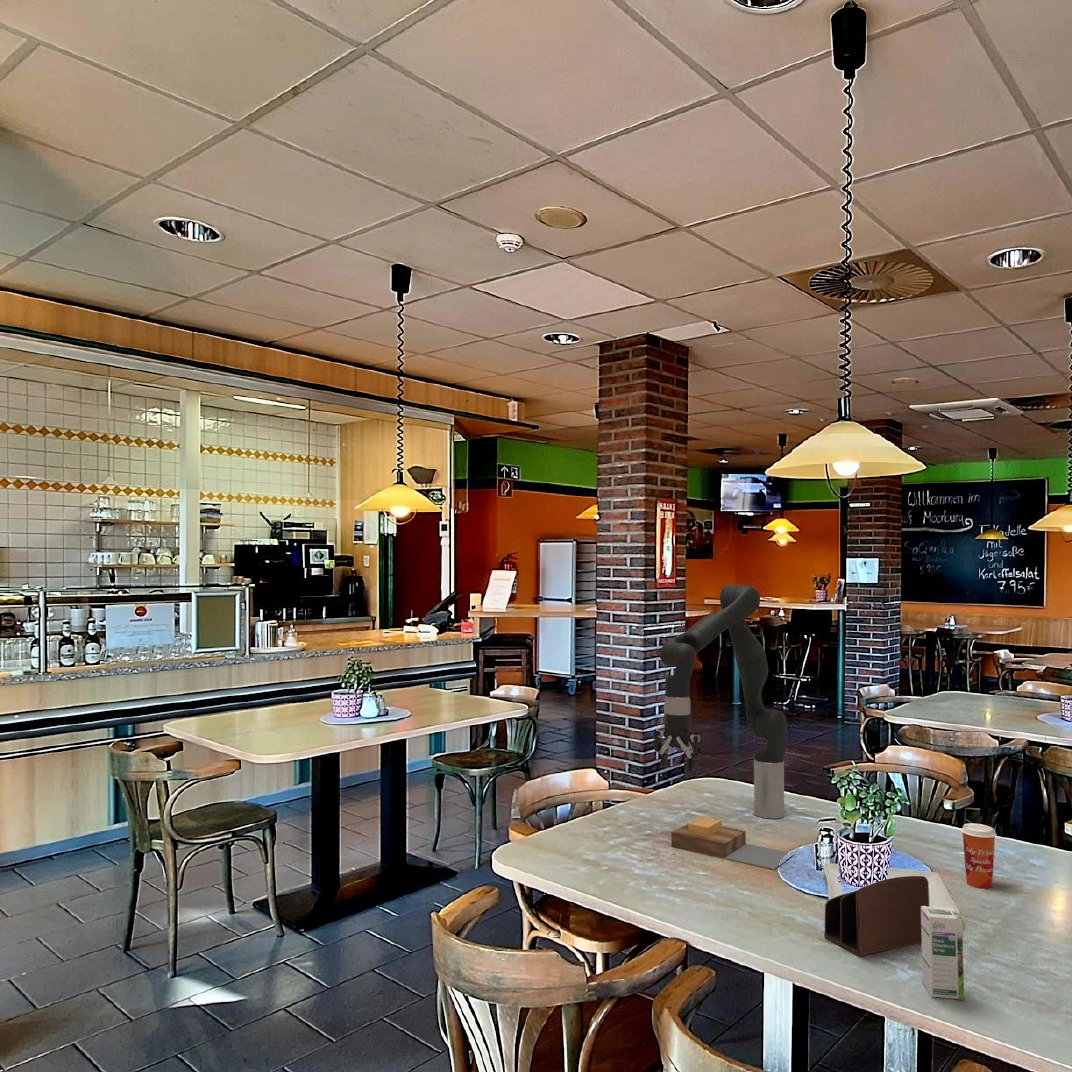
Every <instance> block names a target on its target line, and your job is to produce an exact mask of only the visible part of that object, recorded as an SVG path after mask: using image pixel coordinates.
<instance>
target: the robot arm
mask: <svg viewBox="0 0 1072 1072" xmlns="http://www.w3.org/2000/svg"><path fill="white" fill-rule="evenodd" d="M719 604H720V608H721V610H719V611H716V612H714V613H712V614H709V615H707V616H705V617H703V618H701V619H699V620H698V621H696V622H695V623H694V624H693V625H692V626H691V627H689V628H688V629H687V630H686V631H685V632H683V633H680V634H678V635H676V636H673V637H672V638H670V639H669V640H667V641H665V643H663V645H662V647H661V648H660V649H659V650H660V651H659V659H660V661H661V663H662V664H663V665H665V666H668V667H675V669H674V673H673V674H671V675H670V674H669V675H668V676H666V677H665V681H664V686H665V687H664V703H663V704H664V705H663V713H664V714H663V718H664V719H663V720H664V721H663V726H664V730H661V729H658V730H655V731H653V733H654V736H653V738H654V741H653V745H654V746H653V747H654V752H657V753H659V754H660V765H661V767H662V768H664V769H665V768H668V766H669V760H668V759H669V754H668V752H669V750H670V749H671V748H676V749H677V748H678V749H682V751H683V752H684V753H685V755H686V757H687V759H686V767H687V768H686V771H687V772H692V771H693V770H695V758H698V757H700V756H702V736H701V734H697V735H696V734H692V733H691V725H692V723H691V717H692V716H691V714H692V713H691V709H692V708H691V707H692V705H691V699H690V696H691V695H690V693H691V692H690V691H691V689H690V688H691V687H690V682H691V678H692V676H693V675H692V674H693V671H694V667H695V664H696V663H695V662H696V652H697V653H698V652H701V651H703V649H704V648H705V647H707V646H708V645H709V644H710V643H711V642H713V640H715V639H716V638H717V637H718V636H720V635H722V633H723V632H725V631H727V630H728V632H729V635H730V639H731V643H732V648H733V652H734V656H735V661H736V666H737V670H738V674H739V678H740V681H741V686H742V687H741V688H742V691H743V698H744V704H745V706H744V707H745V712H746V720H747V725H748V729H749V732H750V733H751V734H752V735H753V736H755V737H756V738H757V737H758V738H763V739H767V740H766V745H765V746H764V747H760V748H757V749H755V750H754V751H753V785H754V786H753V813H754V815H755V816H757V817H759V818H764V819H769V820H770V819H775V820H777V819H781V818H784V817H785V754H786V750H787V749H786V748H787V730H788V729H787V727H788V726H787V723H788V722H787V718H786V716H785V714H784V712H783V711H781V710H776V709H771V708H765V707H764V705H763V700H762V690H763V687H764V685H765V683H766V681H767V678H768V676H769V665H768V660H767V655H766V653H765V649H764V646H762V644H761V642H760V641H759V640H758V639H757V637H756V636H755V635H754V633H753V632H752V630H750V627H749V625H748V624H747V622H746V619H747V618H748V617H750V616H752V615H753V614H755V613H756V611H758V609H759V607H760V605H761V595H760V593H759V591H758V590H757V589H756V588H755V587H753V586H750V585H744V584H743V585H742V584H741V585H739V584H728V585H724V587H723V588H722V589H721V590H720V594H719ZM663 737H664V739H665V742H664V743H663V742H662V741H663ZM690 741H691V742H692V744H693V745H691V743H690ZM662 743H663V744H662Z"/></svg>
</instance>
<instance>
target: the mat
mask: <svg viewBox="0 0 1072 1072" xmlns="http://www.w3.org/2000/svg"><path fill="white" fill-rule="evenodd" d="M789 852H790V851H786V850H785V851H784V850H780V849H775V848H771V847H765V846H759V845H756V844H750V843H746V844H745V845H744V846H742V847H740V848H739V849H737V850H736V851H734V852H733V853H731V854H730V855H728V856H726V857H725V858H723V860H726V861H731V862H735V863H740V864H744V865H750V866H753V867H757V868H762V869H767V870H772V871H776V870H777V869H778V868H779V867H778V866H779V863H780V860H782V858H783V857H784V856H785V855H787V854H788V853H789ZM777 867H778V868H777ZM776 868H777V869H776Z"/></svg>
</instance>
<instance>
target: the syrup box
mask: <svg viewBox="0 0 1072 1072" xmlns="http://www.w3.org/2000/svg"><path fill="white" fill-rule="evenodd" d="M963 934H964V933H963V919H962V917H961V915H959V914H958V913H957V912H956V911H955V910H954V909H953V908H942V907H927V906H921V935H922V942H921V967H922V968H921V969H922V977H921V978H922V984H923V986H924V987H926V988H925V989H926V991H927V993H928V994H929V996H930V997H931V998H942V999H943V998H944V999H954V1000H955V999H956V1000H962V1001H963V1000H964V999H965V989H964V987H965V984H964V983H965V982H964V980H965V979H964V942H963V941H964V937H963Z"/></svg>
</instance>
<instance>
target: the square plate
mask: <svg viewBox="0 0 1072 1072" xmlns="http://www.w3.org/2000/svg"><path fill="white" fill-rule="evenodd" d="M838 864H839V863H823V864H822V869H823V872H824V874H825V875H824V876H825V880H826V886H827V898H828V900H830V899H832V898H834V897H837V896H840V895H843V894H844V892H843V890H842V888H844V887H842V885H841V883H839V882H838V881H840V880H839V879H838V878H837V877H838V876H840V873H839V869H838ZM906 876H924V877H925V878H926V879H927V880H928V884H929V907H942V908H953V909H954V910H955V911H956V912H957V913H958V914H959V916H961V912H960V910H959V909H958V906H957V905H956V903H955V902H954V900H953V898H952V897H951V894H950V893H949V891H948V890H947V887H946V886H945V883H944V882H943V880H942V877H941V875H940V874H939V873H938V872H936V871H935V872H934V871H924V870H917V869H916V870H915V869H909V868H908V869H906V868H897V867H889V869H888V875H887V878H886V879H890V878H896V877H906ZM847 888H862V887H852V886H850V887H847Z"/></svg>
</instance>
